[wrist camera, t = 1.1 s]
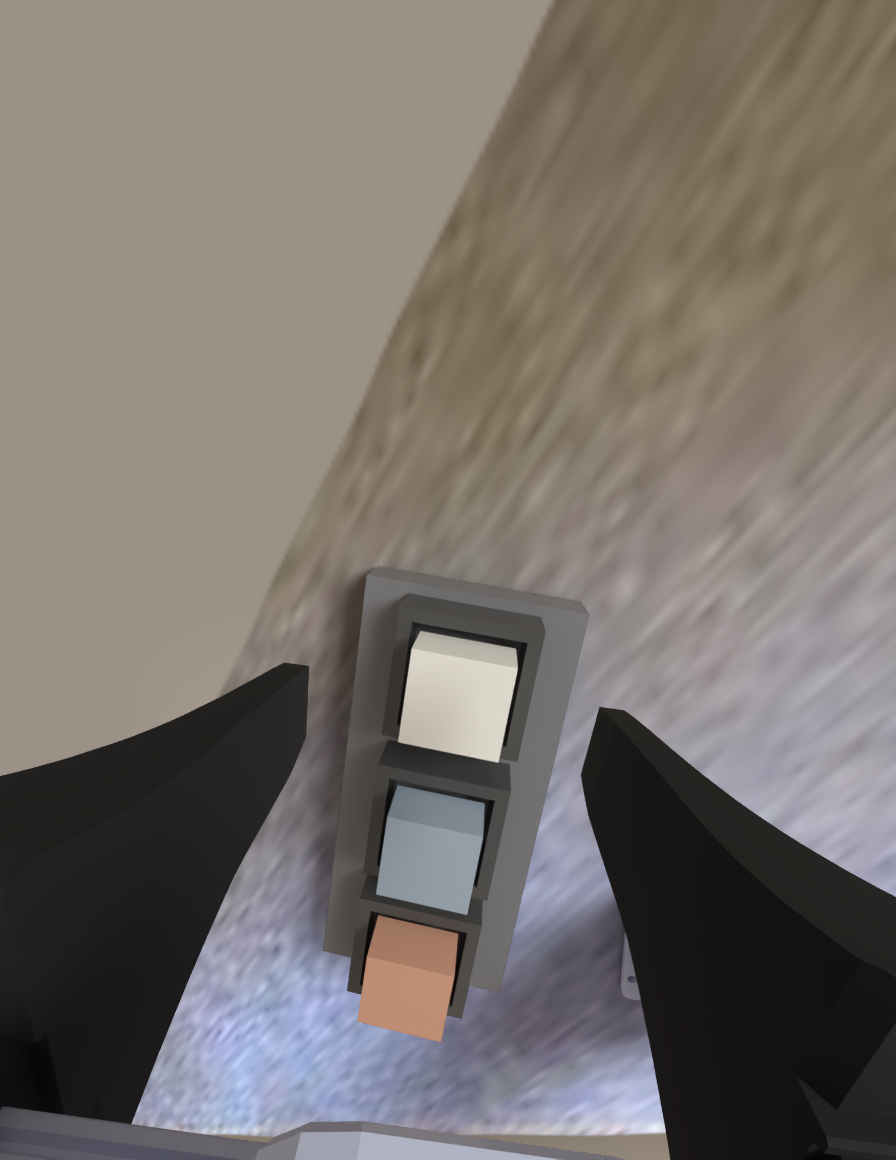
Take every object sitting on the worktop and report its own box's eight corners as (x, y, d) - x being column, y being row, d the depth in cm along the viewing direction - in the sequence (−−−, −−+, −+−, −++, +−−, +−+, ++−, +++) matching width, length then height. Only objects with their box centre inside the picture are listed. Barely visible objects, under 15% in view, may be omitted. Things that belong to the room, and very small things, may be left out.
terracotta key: (445, 995, 23) (440, 1042, 21) (369, 976, 24) (357, 1021, 22) (458, 933, 22) (454, 977, 21) (378, 915, 23) (367, 956, 21)
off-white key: (498, 734, 20) (498, 762, 18) (407, 716, 20) (398, 742, 18) (516, 648, 19) (517, 668, 17) (420, 630, 19) (411, 648, 17)
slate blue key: (469, 875, 22) (466, 915, 20) (387, 857, 22) (375, 894, 20) (484, 803, 21) (482, 837, 19) (397, 785, 21) (387, 817, 19)
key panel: (499, 955, 27) (498, 1035, 23) (335, 917, 28) (309, 989, 24) (581, 602, 22) (599, 629, 18) (377, 566, 23) (353, 585, 19)
